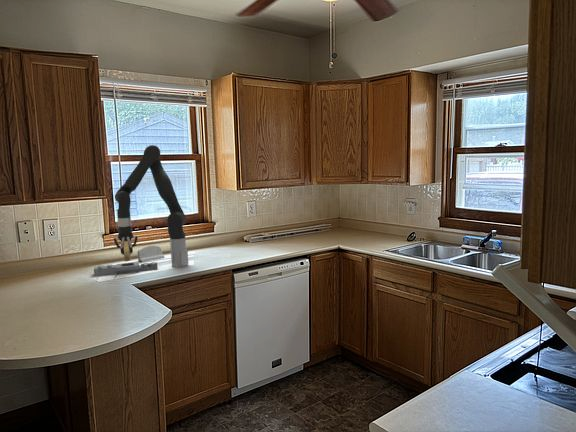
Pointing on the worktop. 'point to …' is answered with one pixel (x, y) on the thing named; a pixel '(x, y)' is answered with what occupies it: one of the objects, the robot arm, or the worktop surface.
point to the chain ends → (124, 268)
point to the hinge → (150, 253)
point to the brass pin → (126, 251)
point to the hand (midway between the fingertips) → (126, 253)
